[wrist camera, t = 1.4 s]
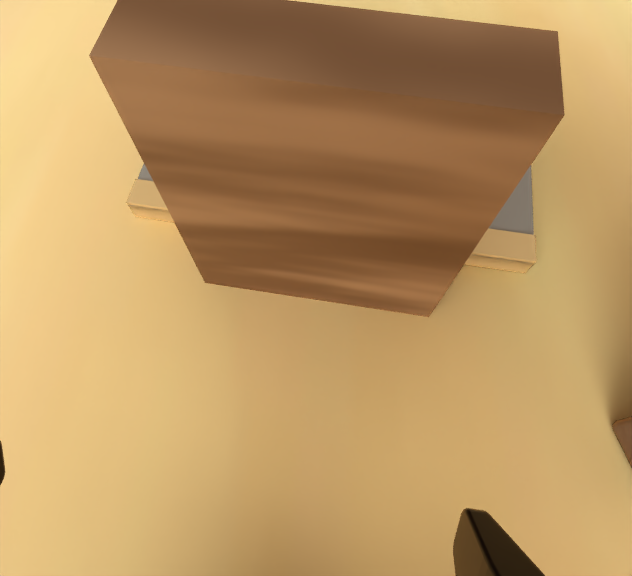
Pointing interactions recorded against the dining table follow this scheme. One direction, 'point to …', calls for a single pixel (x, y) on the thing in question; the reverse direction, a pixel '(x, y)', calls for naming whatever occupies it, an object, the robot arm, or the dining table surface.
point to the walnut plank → (329, 138)
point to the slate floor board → (491, 252)
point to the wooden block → (624, 435)
